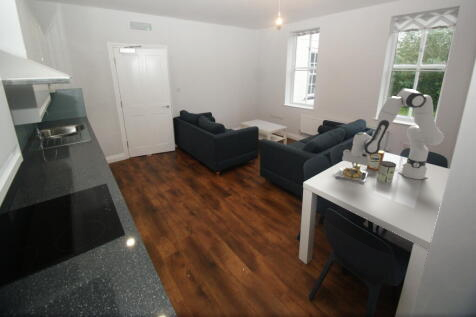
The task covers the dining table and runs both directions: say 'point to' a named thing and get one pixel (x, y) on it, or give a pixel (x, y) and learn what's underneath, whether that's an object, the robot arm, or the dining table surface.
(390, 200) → the dining table surface
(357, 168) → the ring nut
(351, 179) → the base plate
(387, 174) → the coffee can
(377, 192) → the dining table surface
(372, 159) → the baking soda box
